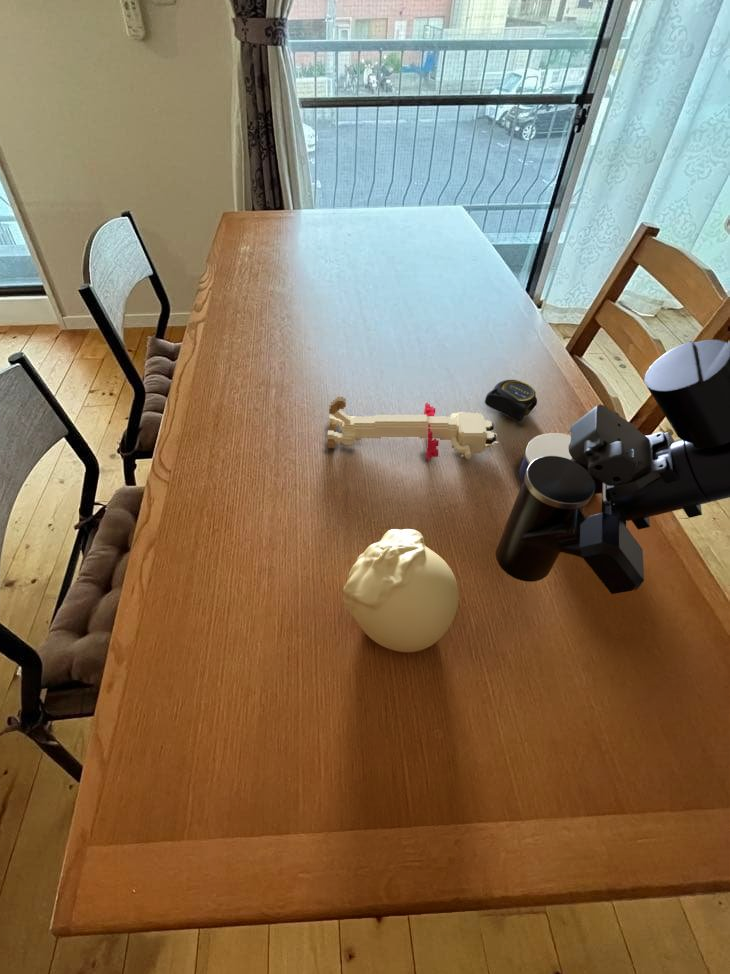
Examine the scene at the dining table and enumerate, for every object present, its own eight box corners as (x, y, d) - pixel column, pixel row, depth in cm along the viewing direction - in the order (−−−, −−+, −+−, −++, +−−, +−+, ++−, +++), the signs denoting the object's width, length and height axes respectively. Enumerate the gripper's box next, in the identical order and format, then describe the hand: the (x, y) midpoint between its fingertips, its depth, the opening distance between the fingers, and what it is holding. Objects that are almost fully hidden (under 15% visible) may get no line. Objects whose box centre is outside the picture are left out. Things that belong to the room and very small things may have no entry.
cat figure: (327, 466, 82) (500, 467, 80) (323, 421, 76) (511, 421, 73) (332, 422, 89) (491, 422, 86) (328, 378, 83) (500, 376, 80)
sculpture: (378, 557, 69) (386, 501, 62) (465, 606, 65) (486, 552, 57) (325, 625, 63) (327, 571, 55) (419, 685, 58) (435, 636, 50)
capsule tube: (564, 565, 61) (609, 484, 51) (525, 592, 58) (566, 513, 49) (520, 528, 64) (556, 446, 55) (482, 552, 62) (513, 471, 52)
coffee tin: (598, 470, 81) (610, 448, 77) (584, 518, 74) (596, 496, 71) (527, 446, 84) (536, 424, 81) (509, 490, 78) (517, 467, 74)
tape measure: (480, 408, 90) (485, 390, 87) (503, 390, 94) (509, 372, 91) (517, 428, 87) (523, 410, 84) (539, 409, 90) (546, 391, 88)
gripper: (650, 339, 50) (496, 407, 60) (662, 481, 37) (467, 535, 48) (702, 426, 54) (549, 475, 64) (728, 580, 41) (534, 610, 52)
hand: (527, 517), depth 57 cm, fingers closed on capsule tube, 6 cm apart
